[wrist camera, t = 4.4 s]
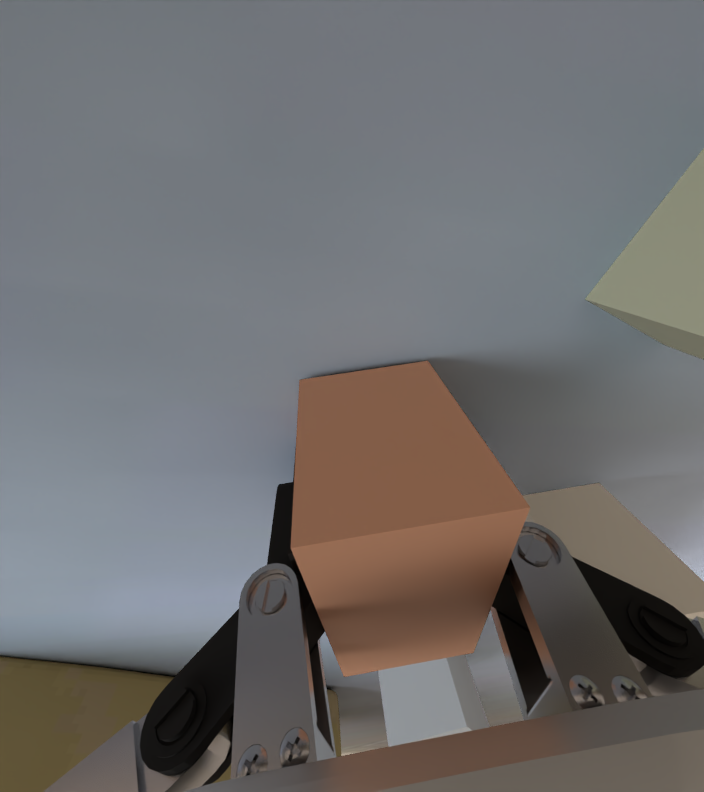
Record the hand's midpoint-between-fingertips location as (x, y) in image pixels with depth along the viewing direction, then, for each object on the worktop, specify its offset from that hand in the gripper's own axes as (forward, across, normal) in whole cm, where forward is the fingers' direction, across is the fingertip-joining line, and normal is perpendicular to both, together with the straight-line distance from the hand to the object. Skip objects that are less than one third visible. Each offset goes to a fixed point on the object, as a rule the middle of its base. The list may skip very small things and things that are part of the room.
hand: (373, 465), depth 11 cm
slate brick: (0, -2, +16) cm, 16 cm away
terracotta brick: (0, 0, 0) cm, 0 cm away
